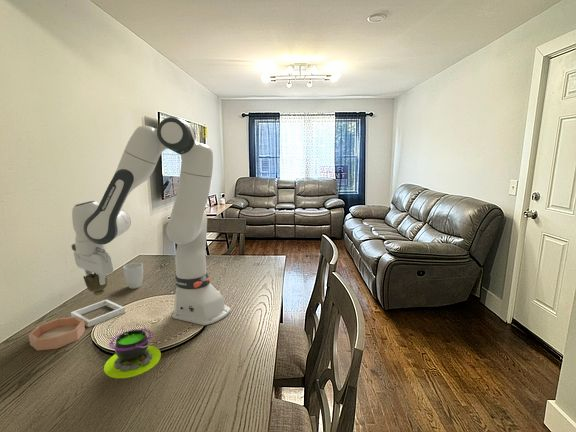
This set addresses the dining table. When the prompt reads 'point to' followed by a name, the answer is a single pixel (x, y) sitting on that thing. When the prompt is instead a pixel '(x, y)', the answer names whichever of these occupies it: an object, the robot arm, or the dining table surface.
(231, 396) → the dining table surface
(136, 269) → the cup
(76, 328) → the bowl
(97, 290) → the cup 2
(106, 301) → the open white square frame
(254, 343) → the dining table surface
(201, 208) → the robot arm
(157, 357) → the toy cauldron
